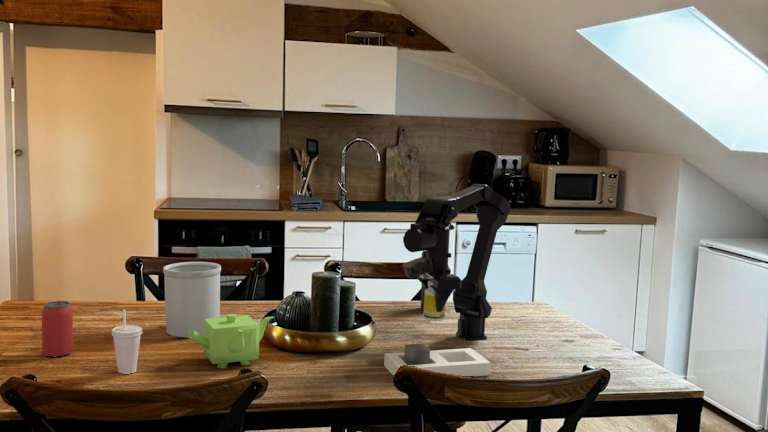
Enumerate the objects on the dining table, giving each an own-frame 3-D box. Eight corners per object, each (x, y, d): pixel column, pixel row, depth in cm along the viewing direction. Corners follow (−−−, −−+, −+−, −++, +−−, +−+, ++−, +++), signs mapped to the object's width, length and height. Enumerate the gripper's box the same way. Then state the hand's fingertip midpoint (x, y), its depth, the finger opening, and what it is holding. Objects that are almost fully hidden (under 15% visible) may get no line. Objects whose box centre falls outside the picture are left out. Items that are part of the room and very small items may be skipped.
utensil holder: (151, 333, 181) (150, 267, 179) (187, 320, 195) (187, 259, 193) (197, 341, 176) (198, 274, 174) (231, 327, 190) (232, 264, 188)
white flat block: (469, 360, 170) (470, 348, 169) (489, 375, 159) (490, 362, 159) (384, 365, 163) (384, 353, 163) (399, 382, 153) (399, 369, 152)
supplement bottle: (443, 322, 173) (445, 283, 172) (421, 320, 174) (423, 282, 173) (445, 317, 178) (447, 279, 177) (424, 315, 179) (426, 278, 178)
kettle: (273, 356, 167) (274, 311, 165) (246, 375, 153) (247, 326, 152) (218, 349, 171) (218, 304, 169) (186, 367, 157) (186, 319, 156)
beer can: (79, 351, 165) (78, 302, 164) (58, 359, 159) (57, 308, 157) (57, 348, 167) (56, 299, 166) (35, 355, 161) (34, 305, 159)
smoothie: (116, 366, 156) (116, 305, 154) (145, 367, 156) (145, 306, 154) (107, 376, 149) (107, 313, 148) (138, 377, 150) (138, 313, 148)
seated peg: (422, 368, 162) (423, 343, 162) (428, 374, 158) (430, 349, 158) (403, 369, 161) (404, 344, 160) (410, 376, 157) (411, 350, 156)
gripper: (394, 242, 180) (392, 301, 182) (420, 255, 163) (417, 320, 164) (434, 242, 184) (432, 300, 185) (464, 254, 166) (460, 318, 168)
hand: (434, 309), depth 176 cm, fingers closed on supplement bottle, 5 cm apart
